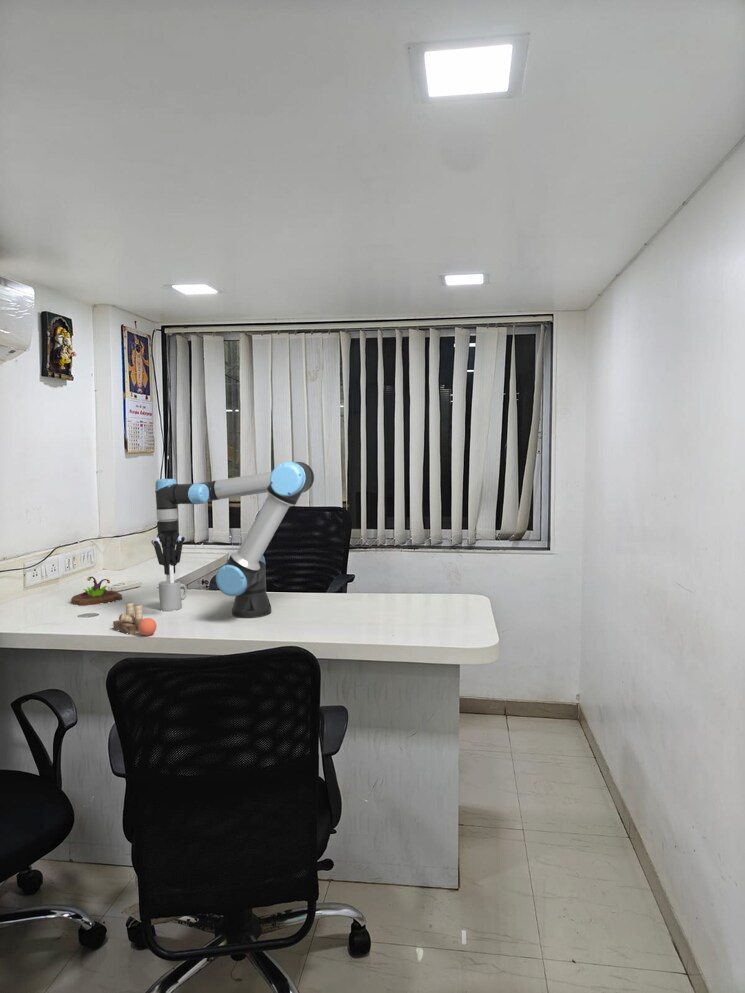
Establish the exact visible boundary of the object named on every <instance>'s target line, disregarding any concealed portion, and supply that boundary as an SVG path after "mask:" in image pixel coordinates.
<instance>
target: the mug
mask: <svg viewBox="0 0 745 993" xmlns="http://www.w3.org/2000/svg"><path fill="white" fill-rule="evenodd" d="M181 588H183V595H182V591H181V590H182V589H181ZM187 592H188V591H187V586H186V585H185V584H184V583H181V581H180V580H175V579H174V583H171V584H170V583H167V580H163V581H160V582H158V593H159V595H158V596H159V598H158V600H159V611H161V610H162V611H161V612H174V611H173V610H176V611H179V610H181V609H182V607H183V606H182V605H183V604H182V601H183V600H186V598H187V595H188V593H187ZM178 609H179V610H178Z"/></svg>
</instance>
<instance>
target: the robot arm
mask: <svg viewBox="0 0 745 993" xmlns="http://www.w3.org/2000/svg"><path fill="white" fill-rule="evenodd" d="M314 481H315V474H314V470H313V468H312V467H311V466H310V465H308V464H307V463H305V462H302V461H284V462H282V463H281V464H278V465H277V466H275V467H274V468H273V469H272V470H271V471H268V472H261V473H255V474H250V475H241V476H236V477H229V478H224V479H218V480H210V481H204V482H203V481H202V482H196V483H177V480H176V479H175V478H159V479H157V480H155V484H154V485H155V486H154V487H155V491H154V493H155V504H156V508H155V509H156V520H157V521H156V530H157V535H156V538H155V539H154V540H153V539H152V540H151V541H150V542H151V544H152V546H153V548H154V551H155V555H156V558H157V562H158V565H161V566H163V568H164V569H163V570H164V571H163V572H164V575H165V576H166V581H167V583H170V584H171V583H174V580H175V576H174V575H175V574H176V566H177V565H178V563H179V564H180V562H181V557H182V550H183V544H184V542H185V539H186V538H185V537H184V536H182V535H180V533H179V521H178V518H179V516H178V515H179V513H178V512H179V511H178V505H202V504H206V503H207V502H213V501H219V500H225V499H226V500H227V499H233V498H239V497H247V496H253V495H260V494H266V493H267V497H266V498H265V499H264V502H263V505H262V506H261V508H260V510H259V511H258V513H257V515H256V517H255V519H254V521H253V522H252V524H251V527H250V528H249V530H248V531H247V533H246V536H245V537H244V539H243V541H242V542H241V545H240V546H239V548H238V549H237V551H234V552H231V554H230V556H229V557H228V560H227V562H225V565H223V566H221V567H220V569H218V570H217V572H216V575H215V584H216V586H217V588H218V590H219V591H220V592H221V593H222V594H224V595H225V596H228V597H234V602H233V605H232V608H231V615H232V616H233V617H236V618H240V619H241V618H245V619H249V618H258V617H260V618H261V617H264V616H268V615H270V614H272V604H271V602H270V599H269V596H268V594H267V579H266V578H267V575H266V564H267V563H266V559H265V556H264V553H265V551H266V550H267V548H268V546H269V544H270V543H271V541H272V539H273V537H274V535H275V533H276V531H277V530H278V528H279V526H280V524H281V523H282V521H283V519H284V518H285V515H286V514H287V512H288V510H289V508H290V507H293V506H295V505H296V504H297V503H298V501H299V499H300V497H301V496H302V494H303V493H306V492H307V491H309V490H310V489H311V488H312V486H313V485H314ZM160 544H161V545H160Z"/></svg>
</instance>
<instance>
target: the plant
mask: <svg viewBox="0 0 745 993" xmlns="http://www.w3.org/2000/svg"><path fill="white" fill-rule="evenodd" d="M86 579H87V581H91V579H93V581H92V582H93V585H92V586H91V587H87V589H86V588H82V590H84V592H81V593H79V594H75V595H74V596H72V597H71V598H70V600H71V604H72V605H75V606H79V607H83V606H84V607H85V606H93V605H101V604H100V603H103V604H109V603H108V602H110V603H114V602H116V601H115V600H119V601H121V600H122V599H123V596H122V595H123V594H121V593H120V592H118V591H113V590H108V589H107V587H108V586H107V585H104V586H101V585H102V584H103V582H104V581H106V583H107V584H110V583H111V580H110V579H108V578H104V579H101V580H100V581H99V582H98V581H97V580H96V578H95V577H94V576H88V577H87V578H86ZM97 582H98V583H97ZM113 601H114V602H113Z"/></svg>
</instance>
